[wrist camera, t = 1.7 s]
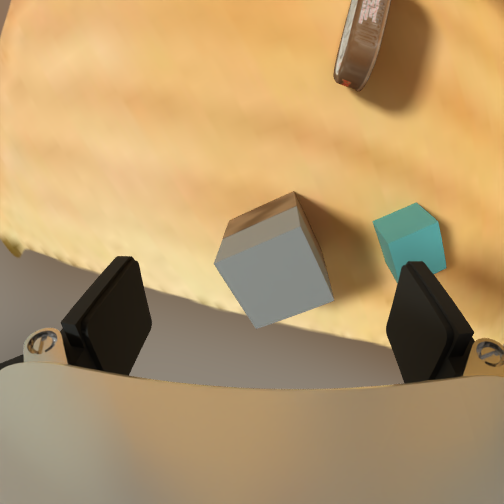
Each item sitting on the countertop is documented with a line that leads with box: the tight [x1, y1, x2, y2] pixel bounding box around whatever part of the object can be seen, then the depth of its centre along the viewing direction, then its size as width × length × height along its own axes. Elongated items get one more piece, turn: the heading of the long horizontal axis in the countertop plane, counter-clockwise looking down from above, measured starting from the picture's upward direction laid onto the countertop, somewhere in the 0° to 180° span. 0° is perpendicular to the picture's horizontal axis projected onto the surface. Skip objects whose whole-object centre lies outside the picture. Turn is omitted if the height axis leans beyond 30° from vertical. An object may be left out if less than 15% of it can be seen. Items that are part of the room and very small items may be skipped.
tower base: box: [223, 191, 326, 268], centre depth 34 cm, size 8×8×5 cm
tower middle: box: [214, 206, 334, 329], centre depth 29 cm, size 8×8×5 cm
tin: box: [334, 0, 391, 91], centre depth 21 cm, size 15×3×8 cm, turn 166°
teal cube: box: [372, 203, 447, 283], centre depth 32 cm, size 6×6×6 cm
